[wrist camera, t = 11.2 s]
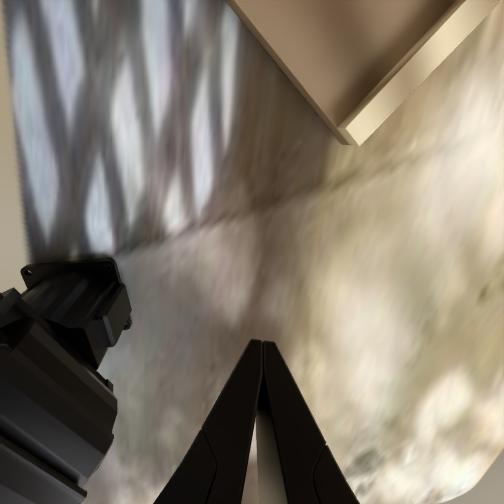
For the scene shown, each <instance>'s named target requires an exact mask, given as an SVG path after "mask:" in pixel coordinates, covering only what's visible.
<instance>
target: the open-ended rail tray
mask: <svg viewBox="0 0 504 504" xmlns="http://www.w3.org/2000/svg"><path fill="white" fill-rule="evenodd" d="M225 1H226V2H227V3H228V5H229V6H230V7H231V8H232V10H233V11H234V12H235V13H236V14H237V16H238V17H239V18H240V19H241V21H242V22H243V23H244V24H245V26H246V27H247V28H248V29H249V30H250V32H251V33H252V34H253V35H254V37H255V38H256V39H257V40H258V41H259V43H260V44H261V45H262V46H263V48H264V49H265V50H266V51H267V53H268V54H269V55H270V56H271V57H272V59H273V60H274V61H275V62H276V64H277V65H278V66H279V67H280V69H281V70H282V71H283V72H284V73H285V75H286V76H287V77H288V78H289V80H290V81H291V82H292V83H293V85H294V86H295V87H296V88H297V89H298V91H299V92H300V93H301V94H302V96H303V97H304V98H305V99H306V101H307V102H308V103H309V104H310V105H311V107H312V108H313V109H314V110H315V112H316V113H317V114H318V115H319V116H320V118H321V119H322V120H323V121H324V123H325V124H326V125H327V126H328V128H329V129H330V130H331V131H332V132H333V134H334V135H335V136H336V137H337V139H338V140H339V141H340V142H341V144H343V145H353V146H360V145H361V144H362V143H363V142H364V141H365V140H366V139H367V138H368V137H369V136H370V135H371V134H372V133H373V132H374V131H375V130H376V129H377V128H378V127H379V126H380V125H381V124H382V123H383V121H384V120H385V119H386V118H387V117H388V116H389V115H390V114H391V113H392V112H393V111H394V110H395V109H396V108H397V107H398V106H399V105H400V104H401V103H402V102H403V101H404V100H405V99H406V98H407V97H408V96H409V95H410V94H411V93H412V92H413V91H414V90H415V89H416V88H417V87H418V86H419V85H420V84H421V83H422V82H423V80H424V79H425V78H426V77H427V76H428V75H429V74H430V73H431V72H432V71H433V70H434V69H435V68H436V67H437V66H438V65H439V64H440V63H441V62H442V61H443V60H444V59H445V58H446V57H447V56H448V55H449V54H450V53H451V52H452V51H453V50H454V49H455V48H456V47H457V46H458V45H459V44H460V43H461V42H462V41H463V40H464V38H465V37H466V36H467V35H468V34H469V33H470V32H471V31H472V30H473V29H474V28H475V27H476V26H477V25H478V24H479V23H480V22H481V21H482V20H483V19H484V18H485V17H486V16H487V15H488V14H489V13H490V12H491V11H492V10H493V9H494V8H495V7H496V6H497V5H498V4H499V3H500V2H501V1H502V0H225Z"/></svg>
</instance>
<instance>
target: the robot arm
mask: <svg viewBox="0 0 504 504" xmlns="http://www.w3.org/2000/svg"><path fill="white" fill-rule="evenodd" d="M106 264H110V265H111V267H108V266H106ZM28 270H29V271H31V272H32V273H29V272H28ZM21 275H22V278H23V280H24V282H25V284H26V287H27V290H26V291H24V292H23V293H22V294H20V293H19V292H18V291H17V290H16V289H15V288H12V289H9V290H7V291H5V292H3V293H0V504H81V503H82V502H83V501H84V500H85V498H86V496H87V491H86V490H84V489H83V488H82V487H83V486H84V485H85V484H86V483H87V481H88V480H89V479H90V478H91V477H92V475H93V474H94V473H95V472H96V470H97V469H98V467H99V466H100V464H101V463H102V461H103V459H104V458H105V456H106V454H107V452H108V450H109V449H110V447H111V445H112V443H113V439H114V435H113V434H112V429H113V425H114V422H115V419H116V416H117V399H116V397H115V396H114V394H113V384H112V383H111V382H110V381H109V380H108V379H106V380H105V379H104V378H103V377H102V376H101V375H100V374H99V373H98V372H97V371H96V370H97V369H98V368H99V366H100V364H101V361H102V359H103V357H104V355H105V353H106V351H107V349H108V347H114V346H115V344H116V343H117V341H118V339H119V337H120V335H121V332H122V330H127V329H129V328H130V327H131V324H132V320H131V316H130V313H131V311H132V309H131V306H130V302H129V298H128V294H127V290H126V287H125V285H124V284H123V283H121V279H120V275H119V272H118V268H117V264H116V262H115V261H114V260H113V259H109V258H106V259H94V260H81V261H68V262H56V263H43V264H30V265H26V266H25V267H23V268H22V269H21ZM126 323H127V325H126ZM255 418H256V440H257V465H258V491H259V504H360V503H359V501H358V500H357V498H356V496H355V495H354V493H353V491H352V489H351V488H350V486H349V484H348V483H347V481H346V479H345V477H344V475H343V474H342V472H341V470H340V468H339V466H338V464H337V462H336V461H335V459H334V457H333V455H332V453H331V451H330V449H329V447H328V445H326V441H325V439H324V437H323V435H322V433H321V431H320V429H319V427H318V425H317V423H316V421H315V419H314V417H313V415H312V413H311V412H310V410H309V408H308V406H307V404H306V402H305V400H304V398H303V396H302V394H301V392H300V390H299V388H298V386H297V384H296V382H295V380H294V378H293V376H292V374H291V372H290V370H289V368H288V366H287V364H286V362H285V360H284V358H283V356H282V354H281V352H280V350H279V348H278V347H277V345H276V343H275V342H273V341H263V342H262V340H257V339H251V340H250V341H249V342H248V344H247V346H246V348H245V350H244V351H243V353H242V355H241V357H240V359H239V361H238V362H237V364H236V366H235V368H234V370H233V371H232V373H231V375H230V377H229V379H228V380H227V382H226V384H225V386H224V388H223V390H222V391H221V393H220V395H219V397H218V399H217V400H216V402H215V404H214V406H213V408H212V409H211V411H210V413H209V415H208V417H207V418H206V420H205V422H204V424H203V426H202V429H201V430H200V431H199V433H198V434H197V436H196V438H195V440H194V442H193V443H192V445H191V447H190V449H189V450H188V452H187V454H186V455H185V457H184V459H183V460H182V462H181V464H180V465H179V467H178V468H177V470H176V471H175V473H174V474H173V476H172V477H171V479H170V480H169V482H168V483H167V485H166V486H165V487H164V489H163V490H162V492H161V493H160V495H159V496H158V497H157V499H156V500H155V502H154V503H153V504H241V500H242V495H243V489H244V483H245V477H246V471H247V465H248V459H249V453H250V448H251V442H252V436H253V430H254V424H255Z"/></svg>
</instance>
